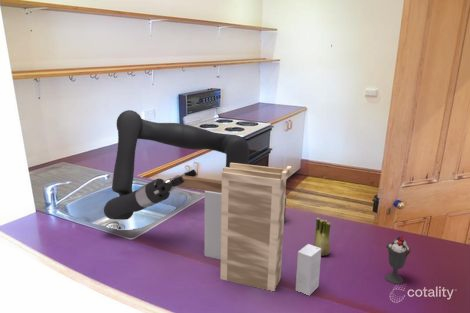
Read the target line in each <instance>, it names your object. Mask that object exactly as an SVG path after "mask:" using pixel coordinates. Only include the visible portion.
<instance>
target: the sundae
mask: <svg viewBox="0 0 470 313" xmlns="http://www.w3.org/2000/svg"><path fill="white" fill-rule="evenodd" d="M385 248H386V249H387V250H388V263H389V266H390V267H391V268H392V269H393V270H392V273H387V274H386V275H385V276H384V278H385V280H386V281H388V282H390V283H391V284H394V285H395V284H397V285H401V284H403V283H404V279H403V278H402V276H400V275H398V271H399V270H400V269H402V268H404V267H405V264H406V260H407V258H408V255H409V254H411V253H412V249H411V248H410V247H409V245H407V241H406V240H405V239H404V234H402V235H401V236H398V237H397V238H395V239H394V241H392V242H388V243H386V245H385Z"/></svg>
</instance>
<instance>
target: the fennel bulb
mask: <svg viewBox="0 0 470 313" xmlns="http://www.w3.org/2000/svg"><path fill="white" fill-rule="evenodd" d="M315 220H316V222H315V224H316V225H315V233H314V246H316V247H319V248H321V257H324V256H328V255H329V254H330V251H331V250H330V249H331V243H330V241H331V240H330V231H331V226H332V225H331V224H332V223H330V222H328V220H327V219H325V220H324V219H321V218H320V217H316V219H315Z"/></svg>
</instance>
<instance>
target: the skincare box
mask: <svg viewBox="0 0 470 313" xmlns="http://www.w3.org/2000/svg"><path fill="white" fill-rule="evenodd" d="M321 258H322V256H321V248H319V247H316V246H315V245H313V244H310V243H307V244H306V245H305V246H303V247H302V248H301V249H300V250H298V251H297V258H296V259H297V260H296V262H297V263H296V277H295V279H296V280H295V291H296V292H297V291H298V293H300V292H302V293H304V294H306V295H309V296H311V295H312V294H313V292H315V290H317V289H318V288H319V285H320V273H321ZM302 293H301V294H302ZM304 294H303V295H304ZM306 295H305V296H306Z"/></svg>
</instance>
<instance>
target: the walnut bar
mask: <svg viewBox="0 0 470 313" xmlns="http://www.w3.org/2000/svg"><path fill="white" fill-rule="evenodd" d="M180 175H181V176H182V177H183V179H184V183H182V184H180V185H178V187H177V188H179V187H180V188H185V189H193V190H200V191H204V192H205V191H211V192H218V193H222V179H220V180H219V179H214V178H207V177H197V176H194V177H192V176H185V175H182V174H180ZM180 175H179V177H180ZM177 178H178V177H177Z"/></svg>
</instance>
